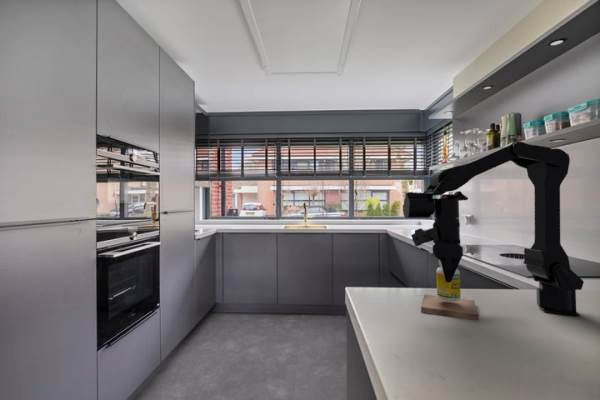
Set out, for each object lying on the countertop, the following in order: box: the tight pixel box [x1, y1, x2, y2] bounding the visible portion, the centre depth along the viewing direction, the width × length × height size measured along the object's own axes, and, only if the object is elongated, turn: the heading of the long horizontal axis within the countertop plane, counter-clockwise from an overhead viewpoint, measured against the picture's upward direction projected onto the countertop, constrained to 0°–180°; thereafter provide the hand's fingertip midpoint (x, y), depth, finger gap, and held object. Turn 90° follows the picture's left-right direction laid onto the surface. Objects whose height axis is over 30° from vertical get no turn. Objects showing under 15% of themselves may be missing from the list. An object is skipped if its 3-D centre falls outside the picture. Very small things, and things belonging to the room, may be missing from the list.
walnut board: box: [420, 294, 479, 321], centre depth 73 cm, size 12×12×1 cm
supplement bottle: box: [436, 259, 461, 301], centre depth 73 cm, size 5×5×10 cm
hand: (448, 279), depth 73 cm, fingers closed on supplement bottle, 5 cm apart
